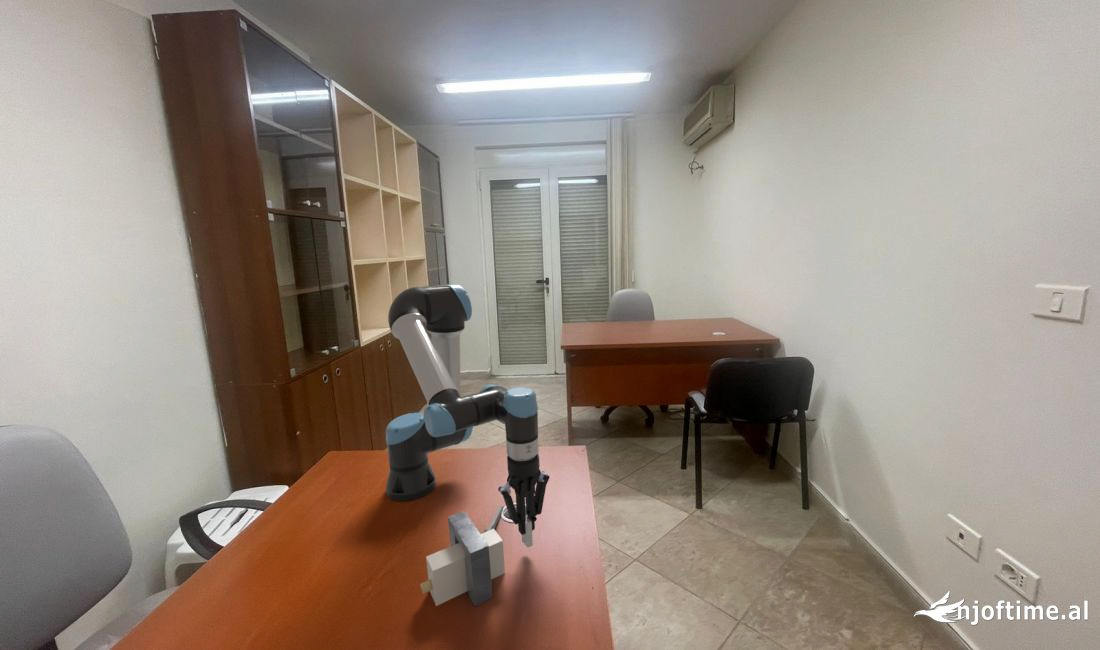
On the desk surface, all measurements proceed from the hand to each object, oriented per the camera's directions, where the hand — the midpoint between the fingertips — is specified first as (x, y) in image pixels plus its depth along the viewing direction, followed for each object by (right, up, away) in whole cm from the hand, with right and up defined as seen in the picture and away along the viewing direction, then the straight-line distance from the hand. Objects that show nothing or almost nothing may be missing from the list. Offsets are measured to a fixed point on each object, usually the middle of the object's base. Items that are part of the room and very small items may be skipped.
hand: (527, 543), depth 100 cm
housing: (-12, -4, -7) cm, 15 cm away
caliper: (-9, -2, +9) cm, 13 cm away
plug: (-13, -5, -8) cm, 16 cm away
